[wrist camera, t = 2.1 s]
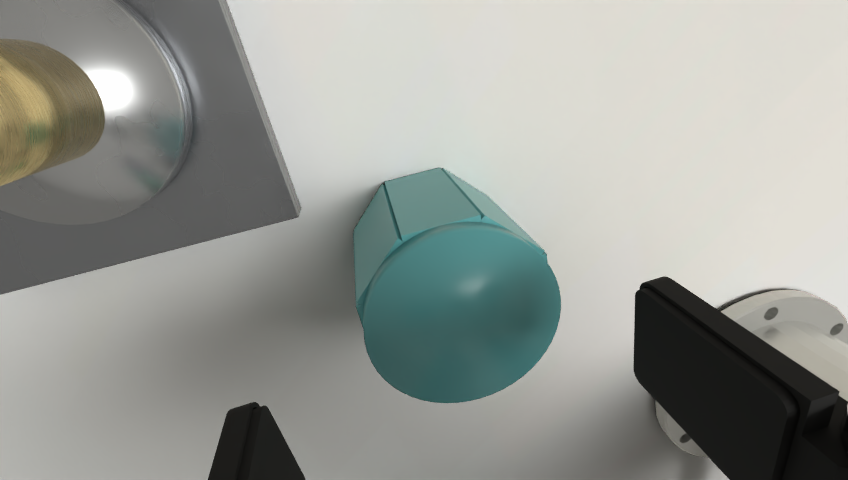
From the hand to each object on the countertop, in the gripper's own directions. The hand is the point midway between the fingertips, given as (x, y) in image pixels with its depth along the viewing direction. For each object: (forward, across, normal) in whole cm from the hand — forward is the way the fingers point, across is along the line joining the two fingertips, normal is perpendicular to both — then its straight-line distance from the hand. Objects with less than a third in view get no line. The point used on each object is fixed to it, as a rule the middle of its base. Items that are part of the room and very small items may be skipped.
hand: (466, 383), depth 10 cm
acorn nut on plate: (+10, +10, -8) cm, 17 cm away
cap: (+10, -1, +1) cm, 10 cm away
